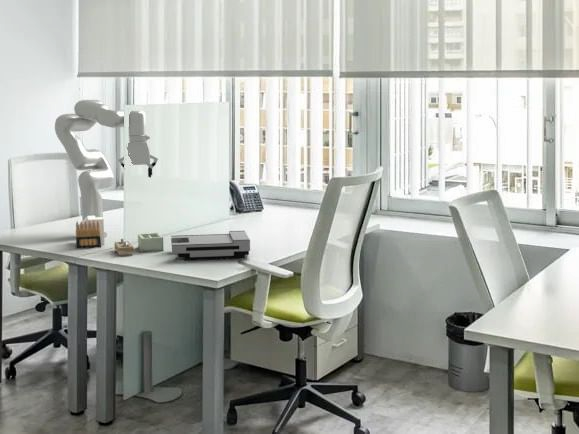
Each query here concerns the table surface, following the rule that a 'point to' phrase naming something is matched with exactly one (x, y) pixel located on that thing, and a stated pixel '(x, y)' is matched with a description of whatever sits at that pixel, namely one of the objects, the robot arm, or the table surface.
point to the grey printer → (211, 246)
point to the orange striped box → (101, 225)
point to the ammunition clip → (87, 235)
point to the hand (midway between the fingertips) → (138, 177)
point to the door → (124, 248)
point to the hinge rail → (124, 246)
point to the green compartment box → (150, 242)
